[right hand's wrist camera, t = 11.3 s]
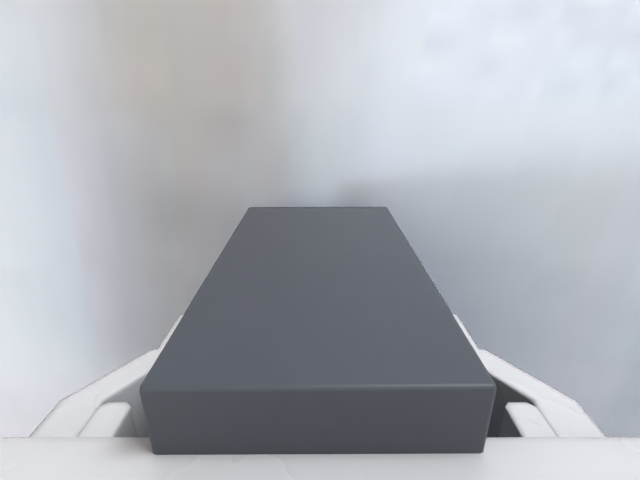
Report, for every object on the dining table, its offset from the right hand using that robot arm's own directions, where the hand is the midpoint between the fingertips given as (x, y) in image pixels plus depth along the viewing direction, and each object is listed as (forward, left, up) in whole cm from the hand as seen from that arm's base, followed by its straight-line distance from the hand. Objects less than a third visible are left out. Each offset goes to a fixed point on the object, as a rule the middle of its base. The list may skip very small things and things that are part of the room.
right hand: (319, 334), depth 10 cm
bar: (-4, +9, -3) cm, 11 cm away
